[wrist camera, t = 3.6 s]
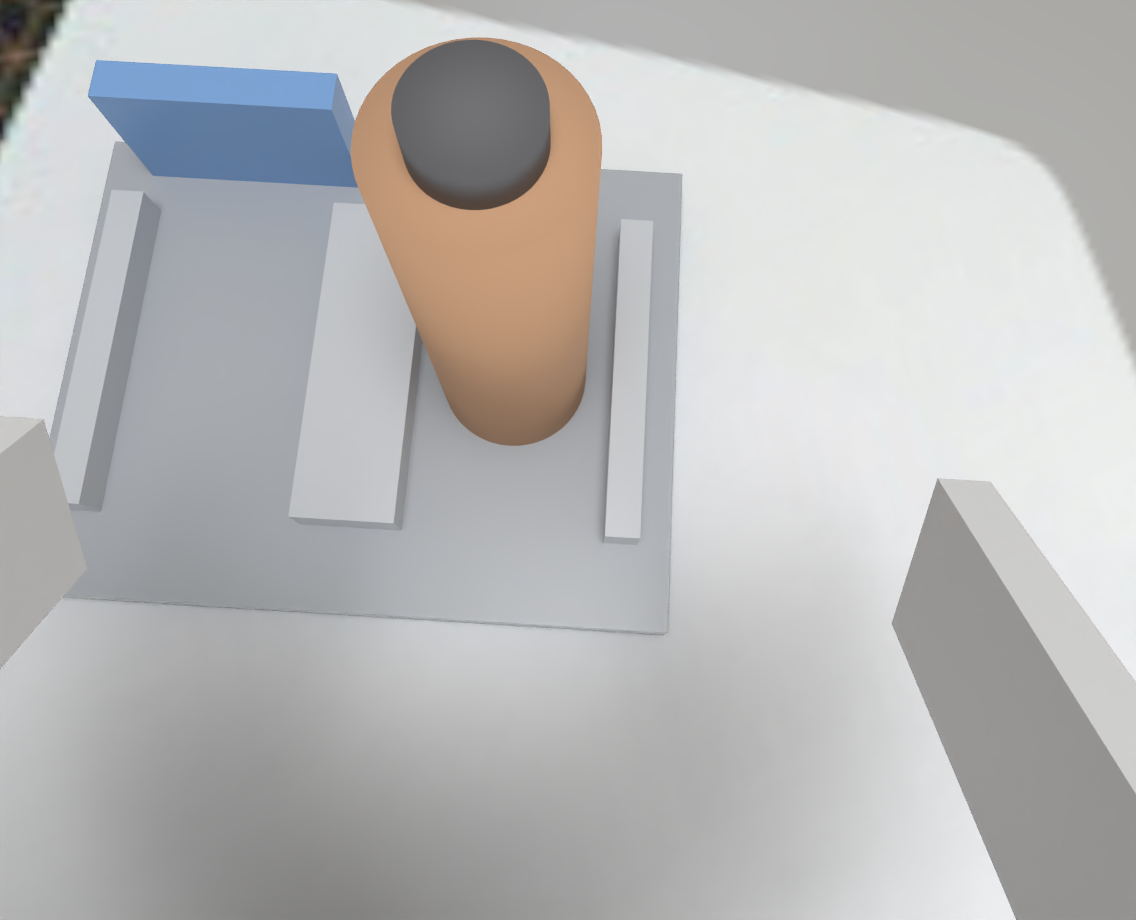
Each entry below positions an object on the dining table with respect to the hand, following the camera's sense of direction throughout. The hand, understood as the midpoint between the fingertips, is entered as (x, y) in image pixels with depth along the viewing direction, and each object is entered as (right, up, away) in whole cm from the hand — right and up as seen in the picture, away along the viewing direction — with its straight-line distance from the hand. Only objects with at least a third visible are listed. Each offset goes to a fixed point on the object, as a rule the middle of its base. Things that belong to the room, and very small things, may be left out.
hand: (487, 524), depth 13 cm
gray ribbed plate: (-5, +4, +15) cm, 16 cm away
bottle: (0, +4, +14) cm, 14 cm away
